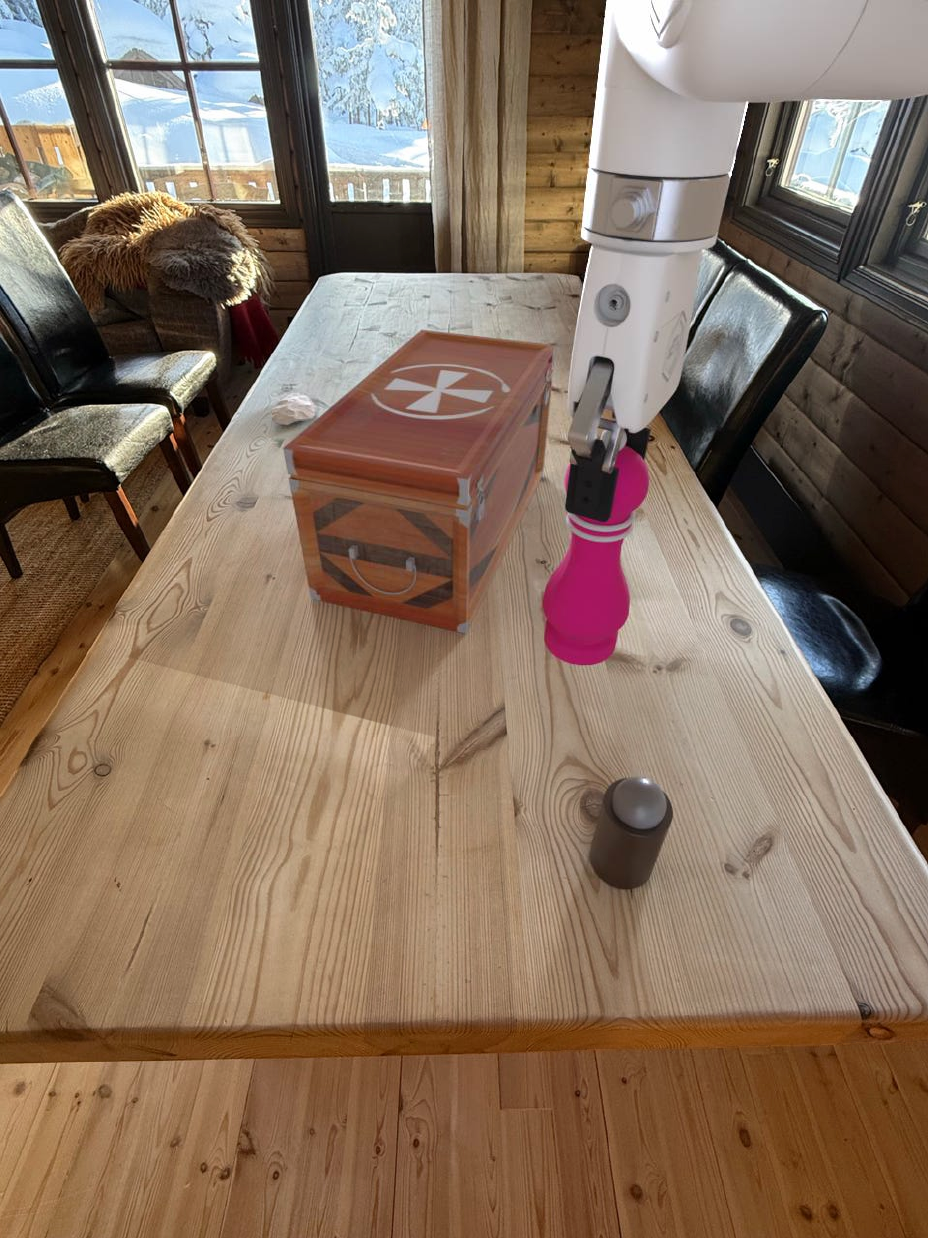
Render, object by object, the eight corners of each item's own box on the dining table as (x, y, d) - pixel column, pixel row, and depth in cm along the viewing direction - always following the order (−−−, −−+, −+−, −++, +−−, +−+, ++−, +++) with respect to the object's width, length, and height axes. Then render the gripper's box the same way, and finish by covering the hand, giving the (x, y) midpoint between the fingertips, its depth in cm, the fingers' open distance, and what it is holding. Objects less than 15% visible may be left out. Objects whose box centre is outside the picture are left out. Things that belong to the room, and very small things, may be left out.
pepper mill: (540, 611, 61) (563, 402, 48) (619, 619, 60) (664, 409, 47) (535, 666, 56) (560, 447, 43) (622, 675, 55) (674, 455, 42)
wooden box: (546, 473, 105) (558, 344, 92) (468, 636, 76) (470, 481, 63) (426, 453, 110) (422, 328, 97) (309, 600, 81) (280, 449, 67)
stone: (269, 429, 116) (266, 418, 115) (278, 397, 127) (276, 387, 125) (314, 427, 117) (312, 416, 116) (319, 396, 127) (318, 386, 126)
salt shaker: (660, 849, 56) (688, 776, 49) (641, 901, 52) (668, 831, 46) (602, 822, 58) (621, 749, 51) (580, 871, 54) (598, 799, 48)
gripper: (675, 247, 29) (612, 570, 41) (752, 193, 41) (686, 458, 53) (524, 228, 32) (505, 536, 44) (636, 183, 44) (597, 437, 55)
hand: (604, 491), depth 48 cm, fingers closed on pepper mill, 6 cm apart
